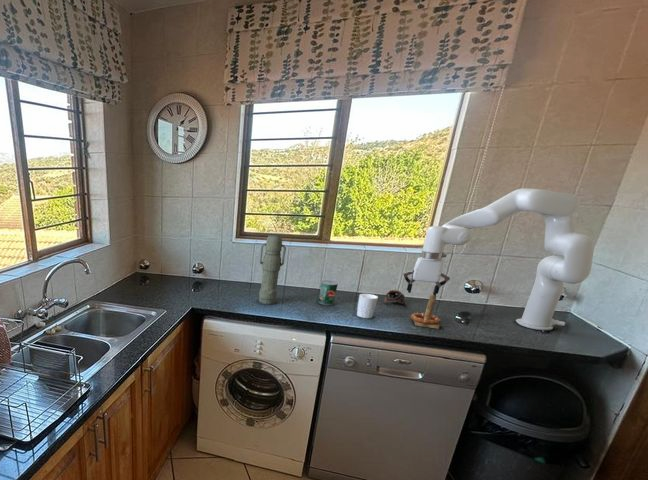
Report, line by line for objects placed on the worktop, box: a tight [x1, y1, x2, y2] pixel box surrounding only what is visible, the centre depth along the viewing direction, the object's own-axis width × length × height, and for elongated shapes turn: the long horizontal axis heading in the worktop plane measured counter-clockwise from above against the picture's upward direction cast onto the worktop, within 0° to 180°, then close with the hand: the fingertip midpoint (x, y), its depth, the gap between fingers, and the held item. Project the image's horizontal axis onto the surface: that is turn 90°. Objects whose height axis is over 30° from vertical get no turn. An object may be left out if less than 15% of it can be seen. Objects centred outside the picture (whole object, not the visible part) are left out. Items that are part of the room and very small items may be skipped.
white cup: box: [356, 293, 379, 319], centre depth 191 cm, size 8×8×10 cm
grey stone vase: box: [258, 233, 287, 305], centre depth 206 cm, size 9×12×35 cm
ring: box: [409, 312, 441, 324], centre depth 183 cm, size 11×11×2 cm
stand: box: [412, 294, 440, 330], centre depth 181 cm, size 9×9×14 cm
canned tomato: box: [317, 280, 339, 306], centre depth 210 cm, size 8×8×11 cm
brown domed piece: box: [383, 289, 406, 306], centre depth 210 cm, size 12×10×8 cm
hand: (421, 293), depth 180 cm, fingers open, 9 cm apart
